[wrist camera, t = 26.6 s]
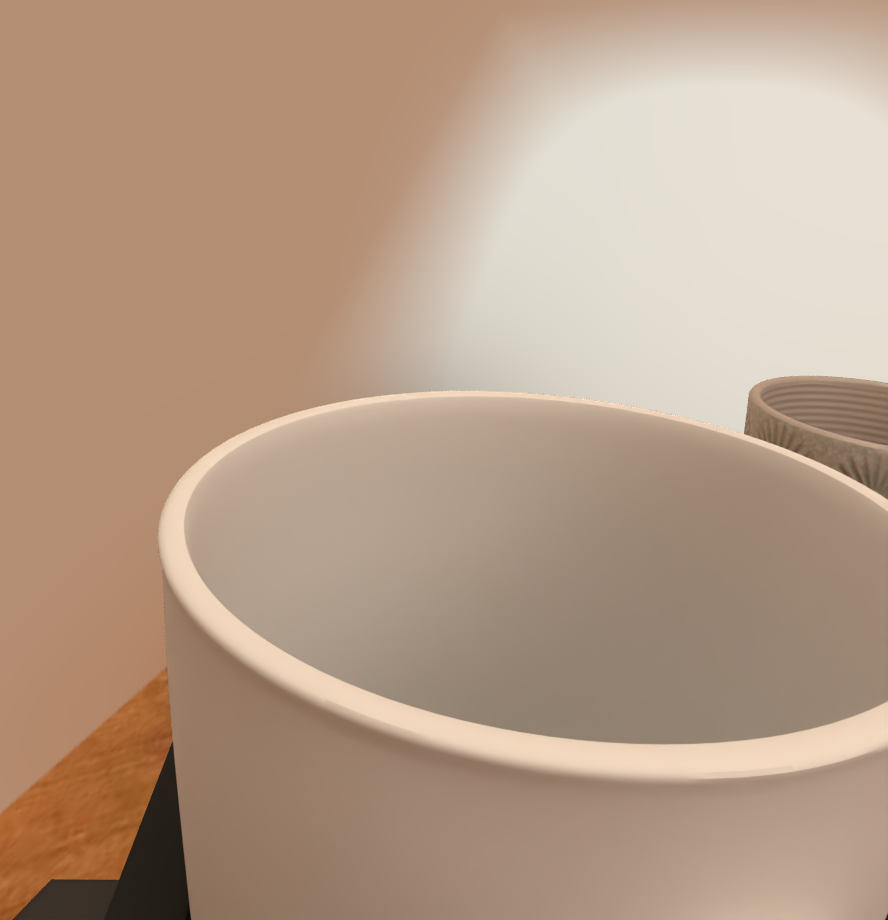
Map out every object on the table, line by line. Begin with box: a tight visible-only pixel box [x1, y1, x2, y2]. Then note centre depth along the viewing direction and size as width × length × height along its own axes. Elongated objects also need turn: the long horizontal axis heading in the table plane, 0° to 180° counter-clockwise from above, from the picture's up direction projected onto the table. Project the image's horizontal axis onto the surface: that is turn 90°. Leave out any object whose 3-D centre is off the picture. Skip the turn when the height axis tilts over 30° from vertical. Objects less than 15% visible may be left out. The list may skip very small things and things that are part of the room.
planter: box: [744, 376, 888, 499], centre depth 57 cm, size 17×17×15 cm
